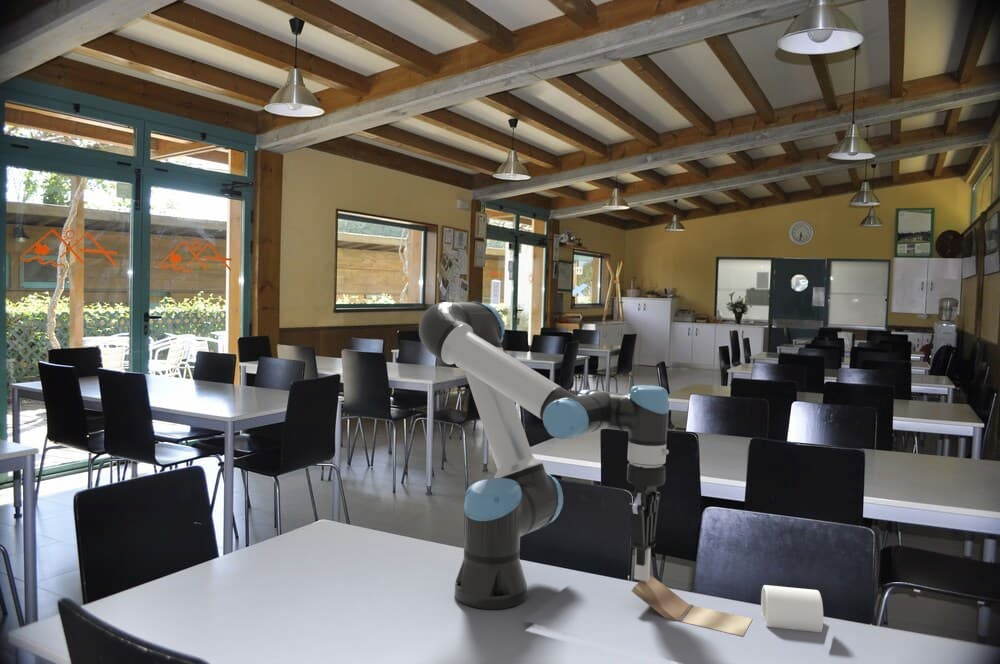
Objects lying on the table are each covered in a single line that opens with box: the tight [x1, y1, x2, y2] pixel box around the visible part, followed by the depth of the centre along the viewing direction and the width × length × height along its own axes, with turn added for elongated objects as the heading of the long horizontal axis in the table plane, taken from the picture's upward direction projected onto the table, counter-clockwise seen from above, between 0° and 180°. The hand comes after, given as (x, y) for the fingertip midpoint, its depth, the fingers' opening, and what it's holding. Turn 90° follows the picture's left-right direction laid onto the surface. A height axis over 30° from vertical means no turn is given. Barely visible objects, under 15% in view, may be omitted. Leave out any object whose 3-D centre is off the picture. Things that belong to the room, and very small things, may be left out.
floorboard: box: [678, 604, 753, 638], centre depth 144 cm, size 12×8×2 cm
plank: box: [631, 574, 690, 622], centre depth 149 cm, size 10×8×1 cm
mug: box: [760, 584, 824, 633], centre depth 146 cm, size 12×10×8 cm
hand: (641, 578), depth 151 cm, fingers closed
